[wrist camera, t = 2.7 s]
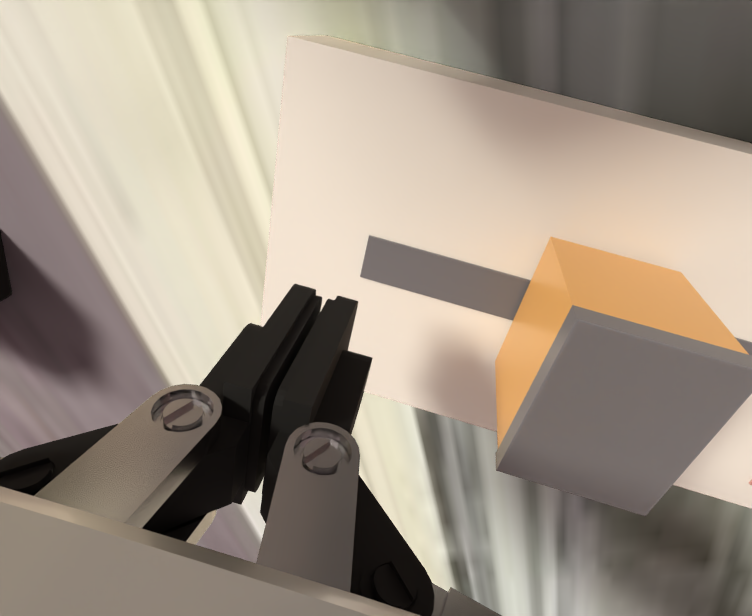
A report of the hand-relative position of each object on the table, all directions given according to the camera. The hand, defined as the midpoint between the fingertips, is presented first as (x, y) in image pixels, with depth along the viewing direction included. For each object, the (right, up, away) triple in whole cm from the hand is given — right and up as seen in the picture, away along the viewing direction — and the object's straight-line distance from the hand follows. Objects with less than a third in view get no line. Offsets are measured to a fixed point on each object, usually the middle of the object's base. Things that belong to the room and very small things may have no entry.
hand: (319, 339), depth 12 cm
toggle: (+8, 0, +3) cm, 9 cm away
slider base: (+9, +3, +7) cm, 12 cm away
